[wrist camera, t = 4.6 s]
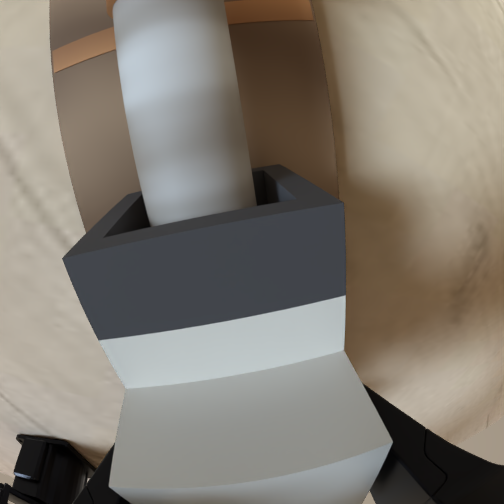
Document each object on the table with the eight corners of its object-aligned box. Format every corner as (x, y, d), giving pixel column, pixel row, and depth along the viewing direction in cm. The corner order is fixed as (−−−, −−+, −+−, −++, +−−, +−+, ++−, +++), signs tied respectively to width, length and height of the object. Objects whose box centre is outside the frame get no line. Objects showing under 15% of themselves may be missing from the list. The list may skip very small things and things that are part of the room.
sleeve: (298, 343, 14) (361, 504, 6) (183, 364, 13) (181, 535, 6) (286, 218, 11) (412, 390, 4) (141, 246, 11) (62, 445, 3)
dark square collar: (286, 218, 11) (345, 295, 6) (141, 246, 11) (98, 340, 6) (279, 164, 10) (343, 202, 5) (127, 194, 10) (62, 258, 5)
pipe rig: (332, 392, 18) (366, 473, 12) (180, 421, 17) (179, 508, 11) (286, -61, 8) (335, -143, 2) (59, -15, 7) (-15, -69, 1)
